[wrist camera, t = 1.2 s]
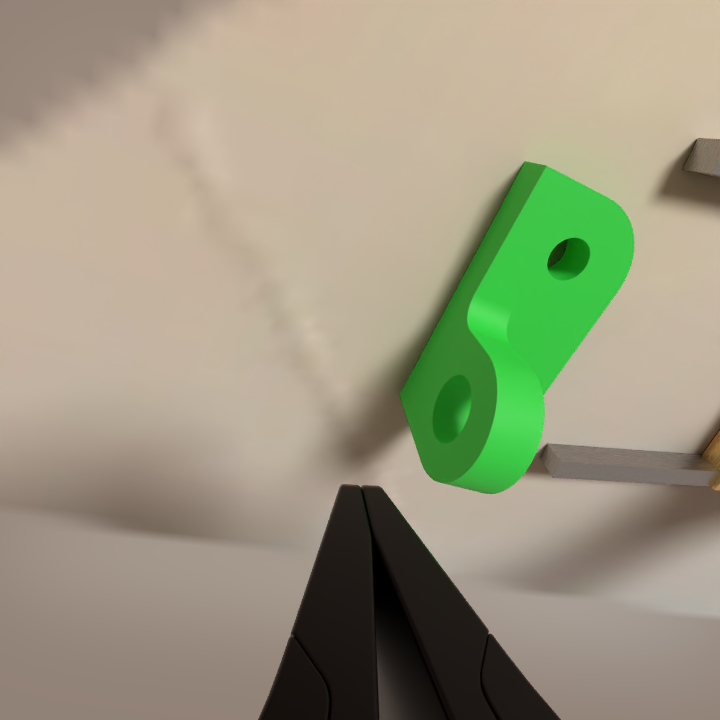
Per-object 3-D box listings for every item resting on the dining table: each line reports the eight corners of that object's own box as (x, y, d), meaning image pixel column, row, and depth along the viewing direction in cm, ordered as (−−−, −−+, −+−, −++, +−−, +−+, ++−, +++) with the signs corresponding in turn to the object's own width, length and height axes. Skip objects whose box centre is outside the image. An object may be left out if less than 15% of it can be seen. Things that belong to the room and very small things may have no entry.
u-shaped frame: (917, 188, 20) (969, 194, 18) (707, 470, 28) (730, 491, 26) (698, 137, 18) (736, 140, 16) (540, 459, 26) (555, 481, 24)
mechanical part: (493, 421, 24) (567, 543, 17) (398, 392, 23) (438, 515, 16) (632, 216, 19) (815, 274, 12) (522, 161, 17) (663, 190, 11)
